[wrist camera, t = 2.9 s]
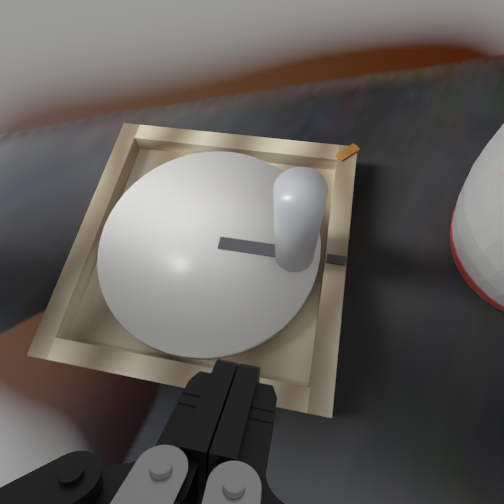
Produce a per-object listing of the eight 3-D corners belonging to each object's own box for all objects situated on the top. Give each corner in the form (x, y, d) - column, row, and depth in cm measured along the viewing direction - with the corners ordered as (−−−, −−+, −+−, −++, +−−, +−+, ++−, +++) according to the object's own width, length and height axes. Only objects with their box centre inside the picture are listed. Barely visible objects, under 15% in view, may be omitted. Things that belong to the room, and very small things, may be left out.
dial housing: (50, 360, 29) (24, 355, 26) (136, 142, 37) (123, 120, 34) (328, 417, 26) (335, 419, 23) (353, 166, 34) (360, 143, 31)
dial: (72, 336, 28) (-36, 299, 18) (142, 151, 35) (90, 54, 25) (303, 381, 25) (318, 365, 16) (330, 172, 32) (351, 74, 23)
